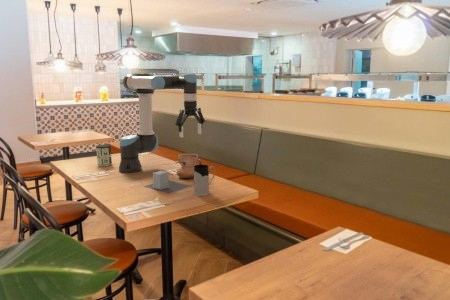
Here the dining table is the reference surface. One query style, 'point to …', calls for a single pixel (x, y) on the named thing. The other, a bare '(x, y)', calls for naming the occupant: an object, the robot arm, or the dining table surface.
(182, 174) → the ceramic jug
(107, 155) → the coffee can
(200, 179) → the tall grey mug
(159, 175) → the block
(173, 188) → the mat
